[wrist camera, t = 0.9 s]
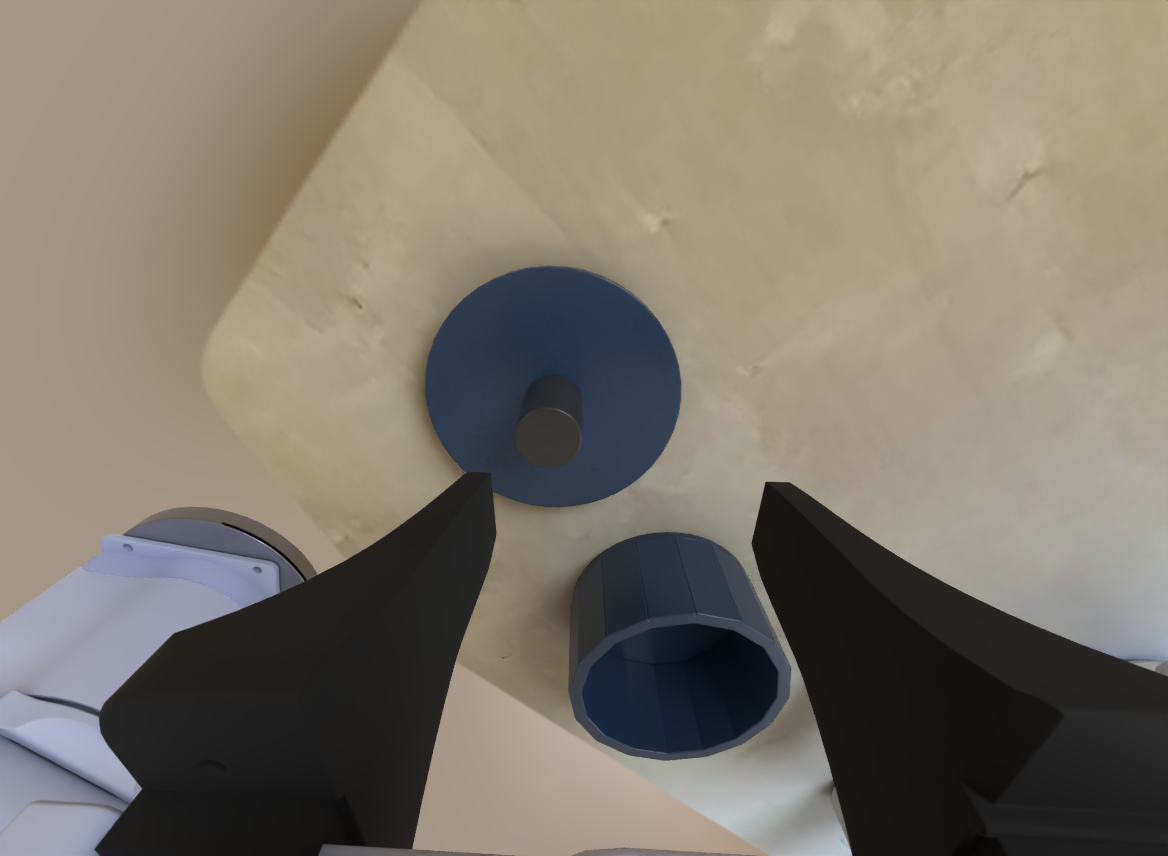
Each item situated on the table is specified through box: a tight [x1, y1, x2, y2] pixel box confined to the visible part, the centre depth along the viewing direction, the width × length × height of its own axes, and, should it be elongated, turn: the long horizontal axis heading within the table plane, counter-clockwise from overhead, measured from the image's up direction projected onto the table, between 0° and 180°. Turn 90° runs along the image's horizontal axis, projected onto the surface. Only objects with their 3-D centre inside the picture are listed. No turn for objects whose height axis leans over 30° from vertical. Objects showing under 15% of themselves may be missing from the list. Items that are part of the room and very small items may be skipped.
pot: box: [569, 532, 791, 761], centre depth 23 cm, size 10×10×5 cm
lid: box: [425, 266, 681, 507], centre depth 18 cm, size 11×11×5 cm
